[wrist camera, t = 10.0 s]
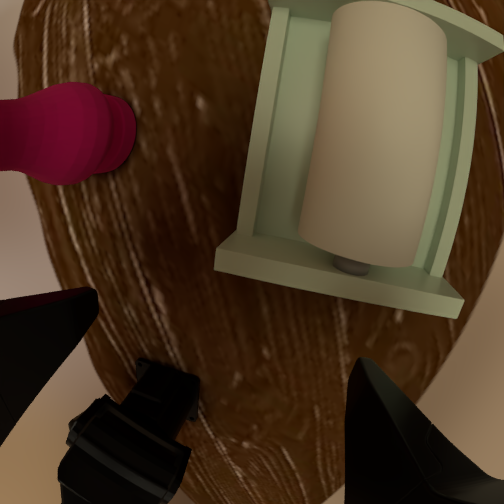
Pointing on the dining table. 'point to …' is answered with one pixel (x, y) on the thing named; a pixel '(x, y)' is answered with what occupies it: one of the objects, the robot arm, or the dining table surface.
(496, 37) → the roll cradle
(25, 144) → the pepper mill
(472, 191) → the dining table surface
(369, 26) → the kitchen roll
